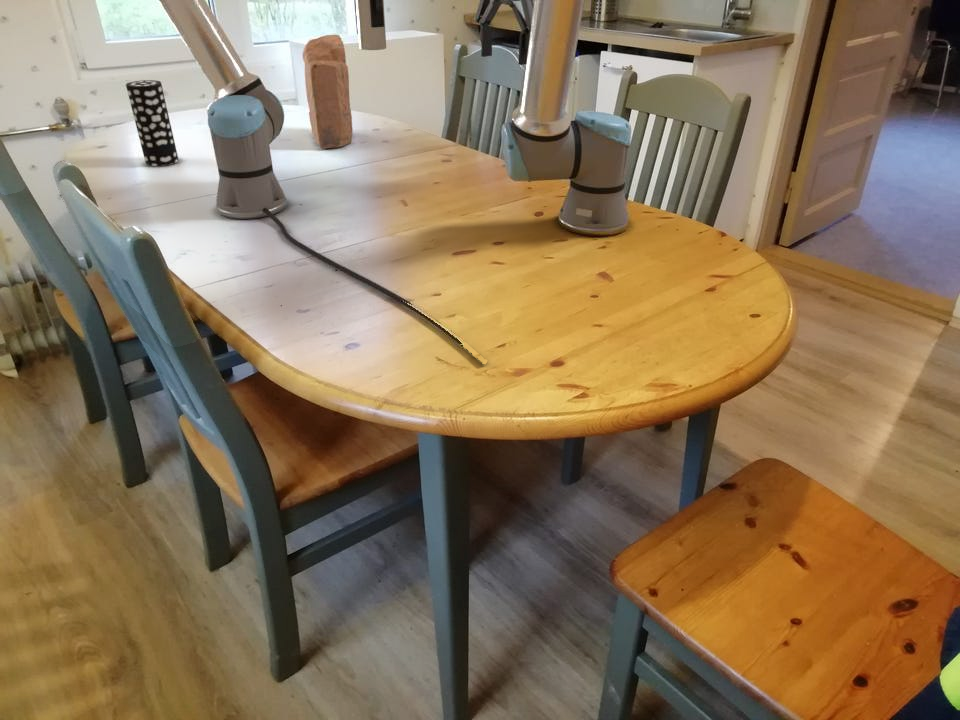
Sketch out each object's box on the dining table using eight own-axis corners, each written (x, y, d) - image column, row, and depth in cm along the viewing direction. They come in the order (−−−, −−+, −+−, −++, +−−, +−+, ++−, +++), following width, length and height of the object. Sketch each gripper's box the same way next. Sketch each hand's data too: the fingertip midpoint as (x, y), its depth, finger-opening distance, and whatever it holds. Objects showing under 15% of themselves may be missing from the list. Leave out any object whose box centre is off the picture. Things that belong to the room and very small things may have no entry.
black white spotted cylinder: (184, 157, 190) (167, 80, 179) (169, 166, 183) (151, 87, 172) (155, 156, 190) (136, 79, 179) (139, 165, 183) (119, 86, 172)
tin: (354, 49, 152) (349, -12, 145) (366, 45, 156) (362, -14, 150) (379, 50, 150) (375, -11, 144) (390, 46, 155) (387, -13, 148)
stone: (358, 147, 199) (349, 40, 185) (319, 150, 196) (306, 42, 182) (347, 131, 217) (337, 33, 202) (310, 134, 214) (298, 34, 199)
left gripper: (401, -103, 133) (407, 29, 146) (357, -101, 146) (366, 19, 159) (366, -104, 130) (375, 31, 142) (325, -102, 143) (336, 21, 155)
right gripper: (459, -45, 159) (460, 54, 171) (533, -40, 143) (528, 69, 154) (485, -46, 163) (483, 51, 175) (559, -41, 147) (552, 66, 158)
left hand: (370, 25), depth 151 cm, fingers closed on tin, 6 cm apart
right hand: (504, 60), depth 165 cm, fingers open, 13 cm apart
